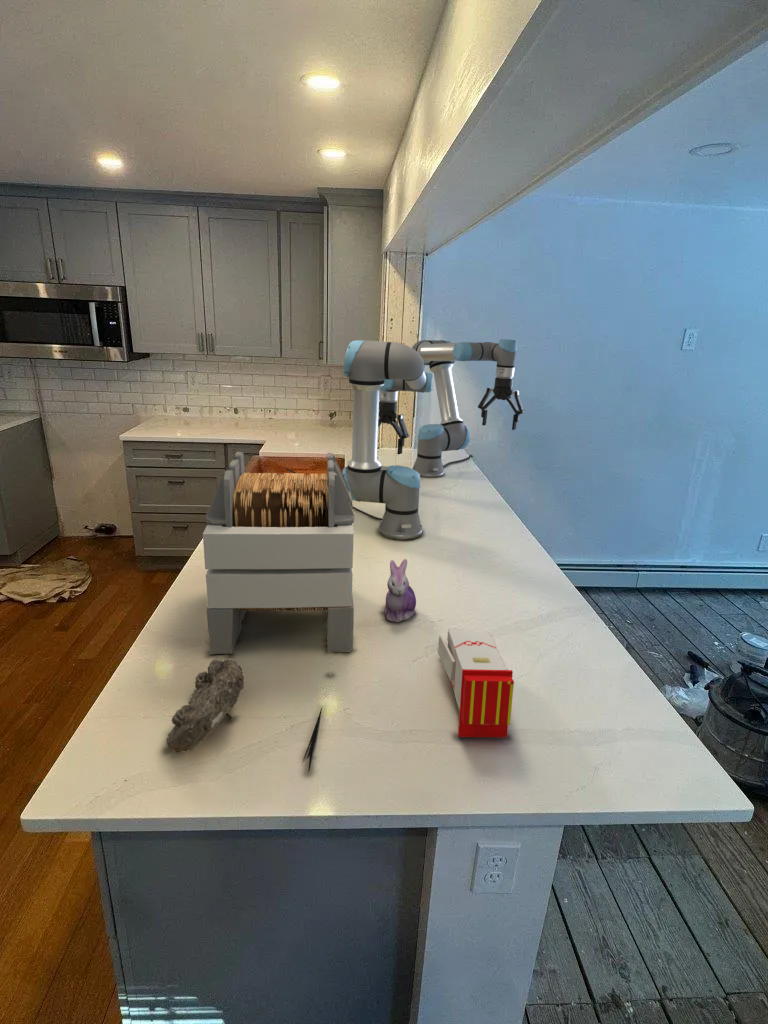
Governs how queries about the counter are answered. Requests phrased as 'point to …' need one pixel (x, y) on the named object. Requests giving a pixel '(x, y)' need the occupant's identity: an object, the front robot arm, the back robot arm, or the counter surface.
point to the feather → (313, 740)
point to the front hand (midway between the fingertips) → (386, 451)
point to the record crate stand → (279, 550)
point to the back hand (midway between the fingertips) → (498, 427)
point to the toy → (478, 682)
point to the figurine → (399, 594)
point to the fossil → (206, 705)
